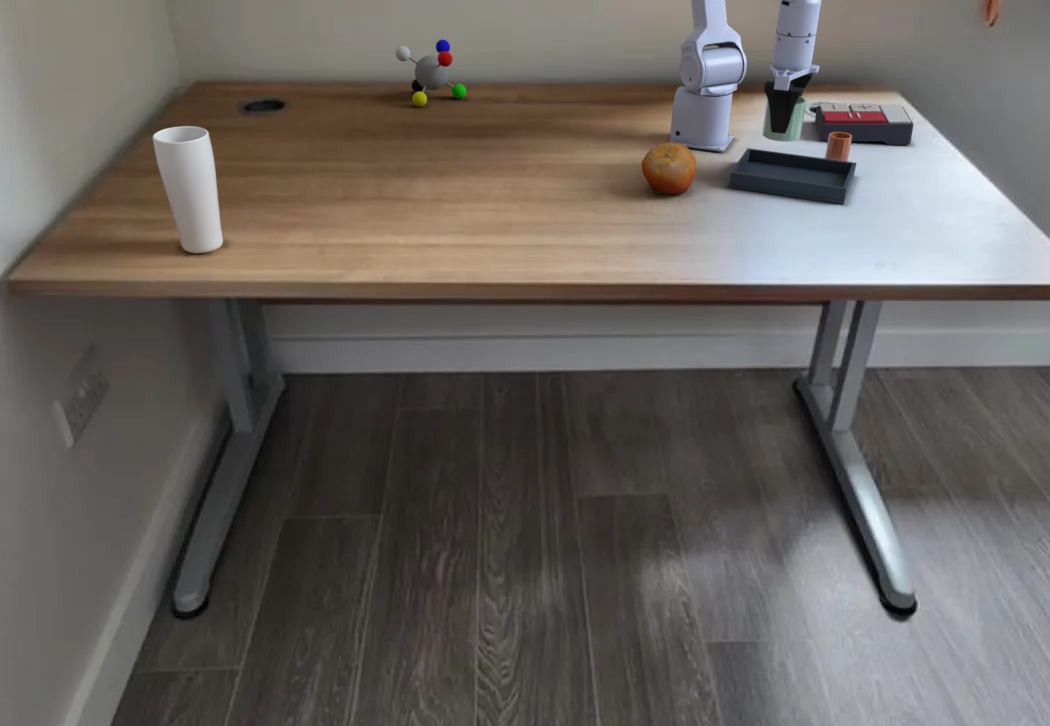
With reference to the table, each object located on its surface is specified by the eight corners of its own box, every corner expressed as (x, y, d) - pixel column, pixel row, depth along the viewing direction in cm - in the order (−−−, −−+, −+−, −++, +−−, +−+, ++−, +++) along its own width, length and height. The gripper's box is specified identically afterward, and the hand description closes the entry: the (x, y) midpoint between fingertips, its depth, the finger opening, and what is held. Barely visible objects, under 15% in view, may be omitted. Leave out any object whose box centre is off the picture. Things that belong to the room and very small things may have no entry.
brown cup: (822, 164, 158) (827, 137, 156) (826, 157, 161) (830, 130, 158) (845, 167, 157) (850, 140, 155) (848, 160, 160) (853, 133, 157)
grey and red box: (816, 101, 175) (903, 100, 173) (814, 125, 177) (899, 125, 175) (823, 119, 166) (915, 119, 164) (820, 144, 168) (910, 145, 166)
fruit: (702, 171, 150) (701, 135, 143) (690, 212, 147) (688, 178, 140) (651, 165, 153) (647, 129, 145) (638, 205, 149) (634, 170, 142)
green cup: (759, 138, 148) (764, 102, 145) (766, 127, 152) (771, 92, 149) (797, 143, 146) (802, 106, 143) (803, 132, 150) (808, 96, 147)
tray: (728, 187, 149) (730, 172, 148) (745, 162, 158) (747, 148, 157) (843, 204, 144) (846, 189, 143) (853, 177, 153) (856, 162, 152)
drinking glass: (182, 236, 131) (159, 125, 123) (234, 235, 132) (214, 125, 123) (170, 258, 126) (145, 143, 117) (224, 256, 126) (202, 142, 118)
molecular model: (389, 104, 182) (385, 49, 177) (422, 87, 192) (419, 34, 186) (443, 112, 179) (441, 57, 173) (474, 94, 188) (473, 41, 183)
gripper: (816, 46, 134) (801, 144, 141) (831, 25, 145) (816, 116, 153) (765, 41, 136) (752, 137, 144) (783, 20, 147) (771, 110, 155)
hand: (782, 126), depth 148 cm, fingers closed on green cup, 6 cm apart
